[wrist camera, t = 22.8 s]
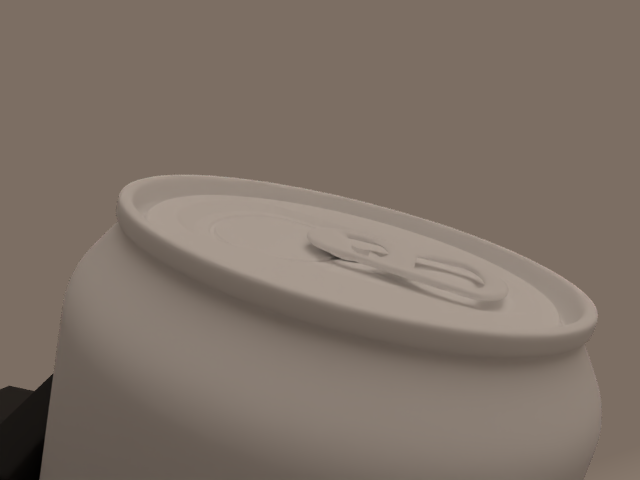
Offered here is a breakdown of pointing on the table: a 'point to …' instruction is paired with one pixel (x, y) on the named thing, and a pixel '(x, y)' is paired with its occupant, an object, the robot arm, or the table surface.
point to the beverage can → (313, 346)
